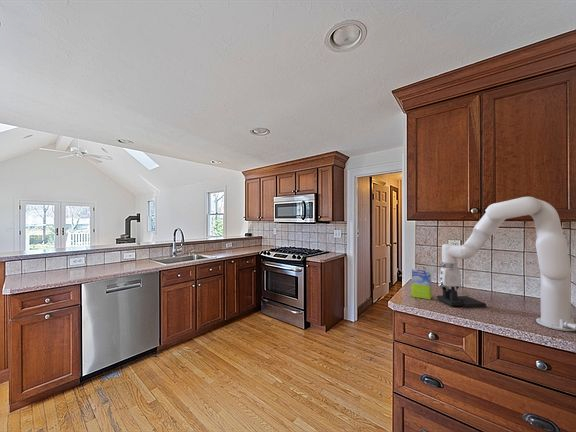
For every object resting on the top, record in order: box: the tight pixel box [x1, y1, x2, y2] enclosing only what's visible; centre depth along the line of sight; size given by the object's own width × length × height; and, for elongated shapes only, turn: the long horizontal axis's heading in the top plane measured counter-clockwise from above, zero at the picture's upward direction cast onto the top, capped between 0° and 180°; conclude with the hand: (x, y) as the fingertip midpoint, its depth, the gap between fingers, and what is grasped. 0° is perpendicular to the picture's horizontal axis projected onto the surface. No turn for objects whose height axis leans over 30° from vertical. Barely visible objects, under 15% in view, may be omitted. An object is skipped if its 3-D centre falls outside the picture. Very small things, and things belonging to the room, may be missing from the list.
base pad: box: [457, 295, 487, 309], centre depth 147 cm, size 14×12×2 cm
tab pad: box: [436, 287, 464, 307], centre depth 146 cm, size 12×10×7 cm
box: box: [411, 268, 432, 301], centre depth 158 cm, size 10×4×17 cm, turn 54°
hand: (449, 297), depth 146 cm, fingers closed on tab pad, 3 cm apart
